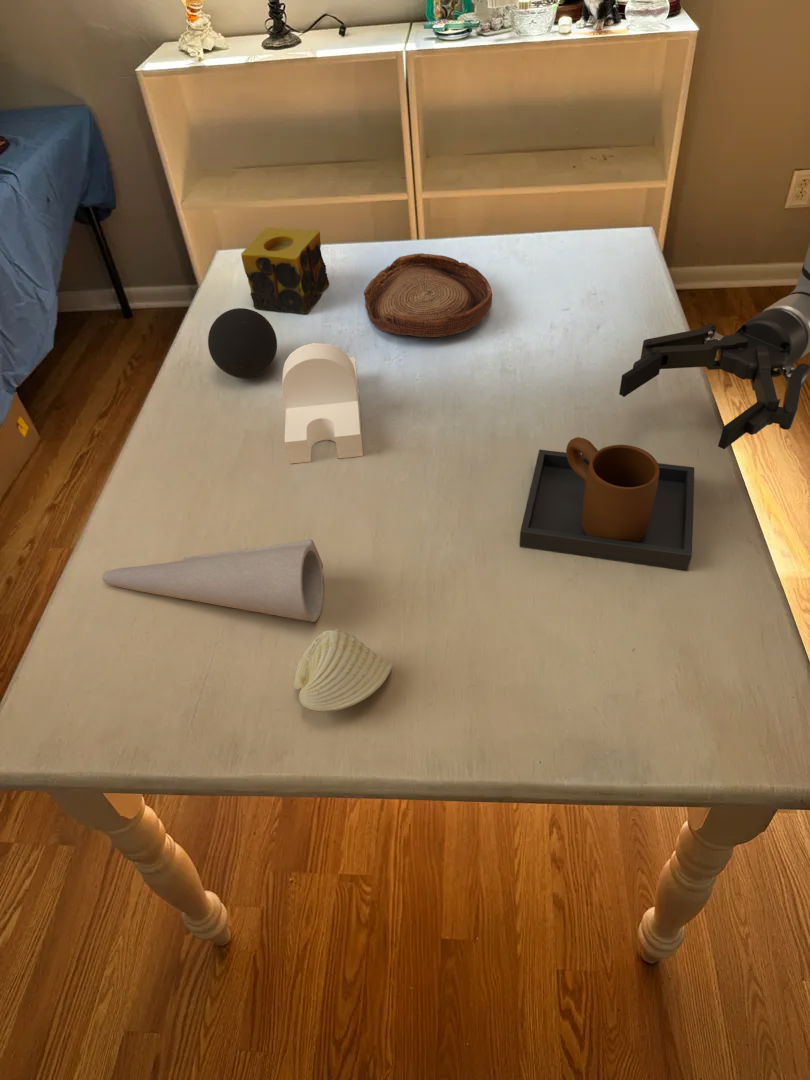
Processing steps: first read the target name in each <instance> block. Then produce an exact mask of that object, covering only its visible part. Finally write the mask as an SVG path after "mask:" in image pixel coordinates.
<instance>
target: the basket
mask: <svg viewBox="0 0 810 1080" xmlns="http://www.w3.org/2000/svg"><path fill="white" fill-rule="evenodd" d="M363 296H364V301H365V308H366V309H365V310H366V312H367V316H368V318H369V320H370V322H371V323H372V325H373V326H375V328H376V329H378V330H379V331H382V332H384V333H391V334H395V335H403V336H414V337H417V338H418V337H419V338H440V337H446V336H447V337H449V336H452V335H456V334H460V333H463V332H466V331H469V330H470V329H473V328H474V327H476V326H477V325H479V324H480V323H481V322H482V321H483V320H484V319H485V317H486V316H487V315H488V313H489V311H490V309H491V307H492V302H493V291H492V287H491V284H490V283H489V281H488V279H487V278H486V276H484V275H483V273H481V272H480V271H479V270H478V269H477V268H474V267H473V266H472V265H469V264H467V263H466V262H464V261H463V262H462V261H461V262H459V261H458V260H457V259H456V258H453V257H449V256H446V255H442V254H441V255H440V254H431V253H413V254H407V255H403V256H399V257H397V258H395V260H393V262H392V263H391V264H390V265H388V266H386V267H385V268H384V269H381V270H380V272H378V273H377V275H375V277H373V278H372V279H371V280H370V281H369V283H368V284H367V286H366V287H365V289H364V290H363Z"/></svg>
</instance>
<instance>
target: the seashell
mask: <svg viewBox="0 0 810 1080" xmlns="http://www.w3.org/2000/svg"><path fill="white" fill-rule="evenodd" d="M392 669H393V665H392V664H391V663H389V662H388V661H386V660H385V659H383V658H382V657H380V656H379V655H378V654H377V653H376V652H375V651H373V650H372V649H371V648H370V647H369V646H367V645H366V644H365V643H363V642H362V641H360V640H359V639H358V638H357V637H356V636H353V635H351V634H349V633H348V632H346V631H342V630H341V629H340V628H339V629H338V628H337V629H329V630H325V631H323V633H320V634H319V635H318V636H317V637H316V638H315V639H314V640H313V641H312V642H311V643H310V644H309V646H308V647H307V648H306V650H305V651H304V653H303V655H302V657H301V659H300V660H299V662H298V664H297V667H296V670H295V674H294V683H293V688H294V689H295V690H300V691H299V694H298V700H299V702H300V704H301V705H302V706H303V707H304V708H306V709H308V710H311V711H315V712H321V713H322V712H335V711H340V710H344V709H348V708H350V707H352V706H354V705H356V704H359V703H360V702H363V701H364V700H366V699H367V698H369V697H370V696H372V695H373V694H374V693H375V692H376V691H377V690H378V689H379V688H380V687H381V686H382V685H383V684H384V683H385V681H386V680H387V678H388V677H389V675H390V673H391V671H392Z"/></svg>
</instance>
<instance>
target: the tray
mask: <svg viewBox="0 0 810 1080" xmlns="http://www.w3.org/2000/svg"><path fill="white" fill-rule="evenodd" d="M581 456H582V459H583V460H584V462H585V463H586V464H587V465H588V466H589V462H588V461H587V460H586V458H585V457H584V456H583V455H582V454H581ZM657 463H658V466H659V478H658V486H657V491H656V496H655V500H654V505H653V509H652V513H651V517H650V522H649V526H648V530H647V532H646V534H645V536H644V537H643V538H642V539H641V540H640V541H639V542H638V543H635V542H628V541H621V540H614V539H606V538H599V537H592V536H587V535H586V533H585V532H584V530H583V527H582V521H581V518H582V509H583V500H584V492H585V483H584V482H583V480H582V479H581V478H580V477H579V476H577V475H576V474H575V472H574V471H573V470H572V468H571V467H570V465H569V462H568V459H567V455H566V451H565V452H564V451H558V450H557V451H556V450H546V449H539V450H538V454H537V458H536V464H535V466H534V471H533V476H532V481H531V484H530V488H529V492H528V496H527V501H526V506H525V510H524V514H523V517H522V521H521V522H522V523H521V527H520V531H519V532H520V533H519V547H520V548H524V549H525V548H526V549H531V550H533V549H534V550H540V551H546V552H552V553H560V554H567V555H568V554H569V555H574V556H581V557H588V558H596V559H602V560H609V561H616V562H621V563H622V562H623V563H628V564H629V563H630V564H636V565H644V566H649V567H657V568H664V569H671V570H676V571H677V570H679V571H683V572H684V571H685V572H687V571H688V570H689V567H690V564H691V560H692V557H693V532H694V530H693V529H694V501H695V500H694V498H695V495H694V493H695V466H687V465H676V464H668V463H660V462H657Z"/></svg>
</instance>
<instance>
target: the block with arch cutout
mask: <svg viewBox="0 0 810 1080" xmlns="http://www.w3.org/2000/svg"><path fill="white" fill-rule="evenodd" d="M359 389H360V388H359V377H358V369H357V363H356V357H353V356H349V355H348V354H347V353H346V352H345V351H343V350H342V349H341V348H339V347H337V346H335V345H333V344H328V343H324V342H313V343H307V344H304V345H302V346H300V347H297V348H296V349H294V350H293V351H292V352H291V353H290V354H289V355H288V356H287V358H286V360H285V362H284V364H283V368H282V382H281V391H282V398H283V400H284V401H283V402H284V407H285V421H284V422H285V423H284V446H285V451H286V454H287V459H288V463H289V465H291V464H299V463H300V464H301V463H310V462H312V448H313V446H314V445H315V444H316V443H319V442H322V441H331V442H334V443H335V447H336V448H335V449H336V454H337V459H346V458H347V459H348V458H356V457H363V456H364V448H363V432H362V421H361V420H362V419H361V417H362V416H361V404H360V402H361V401H360V390H359Z"/></svg>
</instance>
